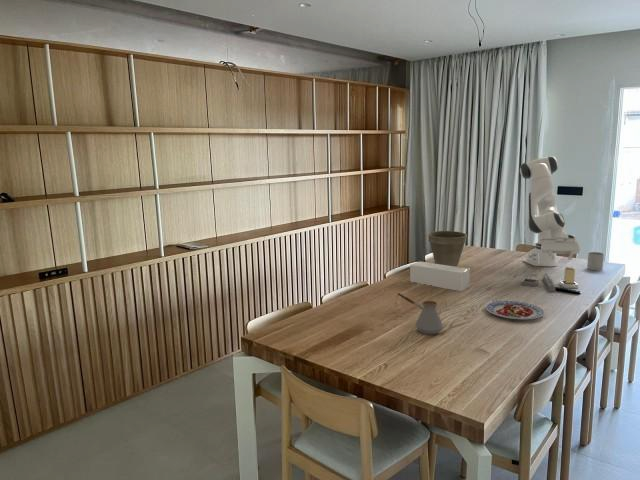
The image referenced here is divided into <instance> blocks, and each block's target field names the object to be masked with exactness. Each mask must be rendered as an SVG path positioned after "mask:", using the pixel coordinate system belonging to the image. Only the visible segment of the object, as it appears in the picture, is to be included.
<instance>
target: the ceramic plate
mask: <svg viewBox="0 0 640 480" xmlns="http://www.w3.org/2000/svg"><path fill="white" fill-rule="evenodd" d="M485 309H486V310H487V311H488V312H489V313H490V314H493V315H495V316H497V317H501V318H507V319H512V320H533V319H534V320H535V319H539V318H542V317H543V316H544V315H545V310H544V309H543V308H541V307H539V306H538V305H535V304H532V303H528V302H523V301H517V300H495V301H492V302H489V303H487V304H486V305H485Z"/></svg>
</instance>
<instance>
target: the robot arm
mask: <svg viewBox="0 0 640 480" xmlns="http://www.w3.org/2000/svg"><path fill="white" fill-rule="evenodd" d="M558 168H559V162H558V159H556V157H555V156H553V155H549V156H547V157H541V158H540V157H539V158H536V159H533V160H531V161H528V162H524V163H522V164H521V165H520V168H519V174H520V175H521V177H522V178H523V179H524V180H525V179H526V180H528V179H531V183H532V188H531V191H530V192H529V193H528V229H529V230H530V232H532V233H534V234H537V242H536V243H534V246H535V248H534V247H533V248H532V249H531V250H529V251H528V252H527V254H526V258H523V259H522V262H525V263H526V264H529V265H532V266H535V267H536V266H537V267H557V266H558V261H557V259H558V257H557V254H561V255H562V254H563V255H565V254H567V255H568V254H569V255H568V258H567V259H568V261H570V260H573V255H578V254H579V253H580V250H581V247H580V244H579V242H578V240H576V239H577V237H576V235H572V234H569V233H567V232H566V222H565V218H564V215H563V214H562V213H561V212H559V210H558V206H557V202H556V197H555V193H554V181H553V176H552V175H553V173H555V172H557V171H558ZM538 214H539V215H538Z"/></svg>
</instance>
